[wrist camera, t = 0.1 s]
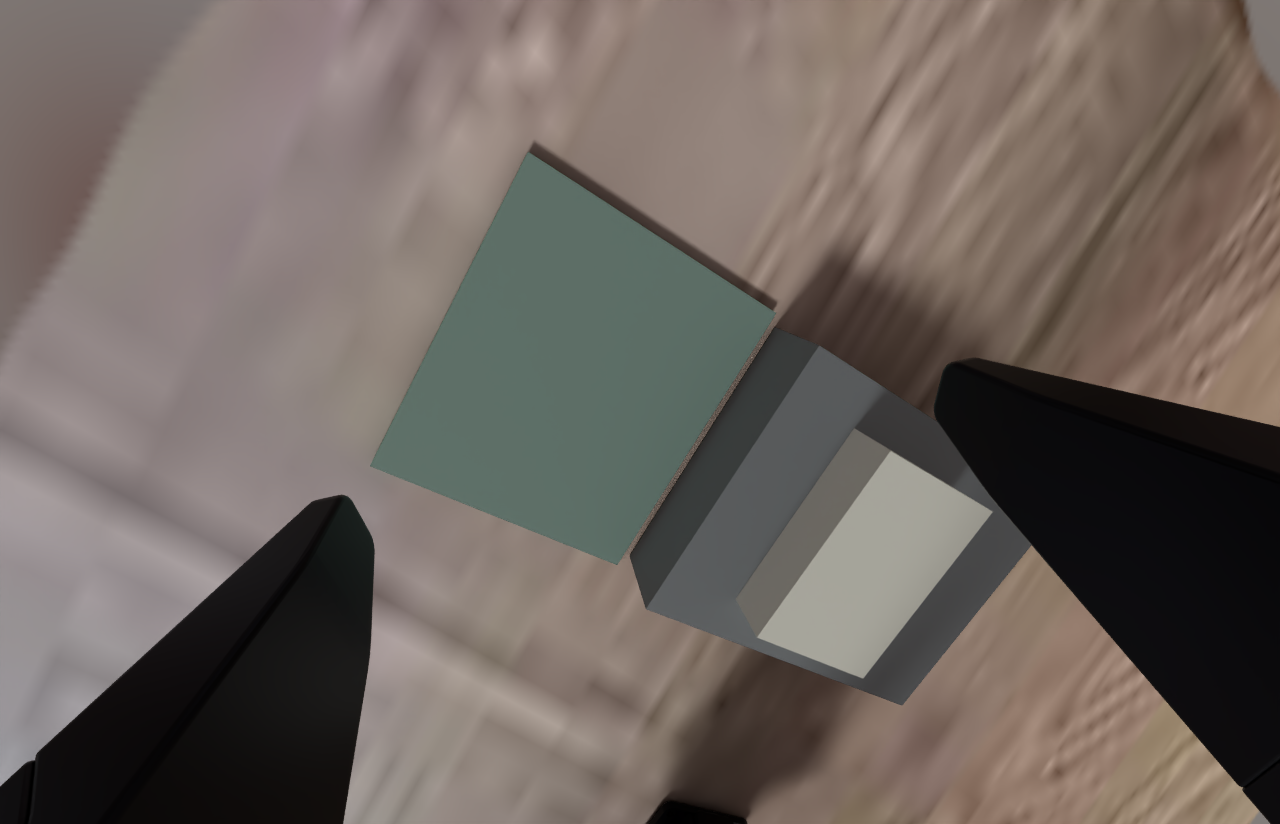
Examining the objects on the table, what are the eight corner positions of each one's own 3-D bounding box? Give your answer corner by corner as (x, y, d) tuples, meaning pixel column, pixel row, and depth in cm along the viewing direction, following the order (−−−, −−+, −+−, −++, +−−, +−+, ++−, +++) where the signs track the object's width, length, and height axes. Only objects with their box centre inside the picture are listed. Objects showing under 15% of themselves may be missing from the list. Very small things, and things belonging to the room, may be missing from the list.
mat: (615, 560, 27) (617, 564, 26) (372, 462, 23) (370, 466, 22) (772, 311, 24) (776, 313, 24) (528, 153, 20) (528, 151, 20)
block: (833, 639, 26) (863, 678, 23) (735, 598, 24) (757, 637, 22) (949, 485, 24) (993, 511, 22) (854, 428, 22) (890, 450, 20)
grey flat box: (858, 649, 32) (902, 705, 28) (629, 555, 27) (645, 609, 23) (996, 469, 29) (1064, 504, 26) (774, 326, 24) (819, 345, 21)
